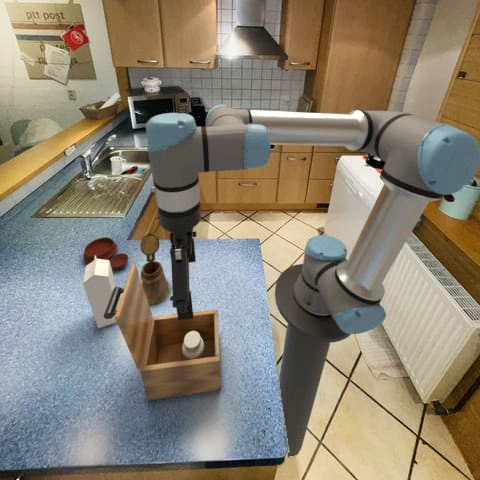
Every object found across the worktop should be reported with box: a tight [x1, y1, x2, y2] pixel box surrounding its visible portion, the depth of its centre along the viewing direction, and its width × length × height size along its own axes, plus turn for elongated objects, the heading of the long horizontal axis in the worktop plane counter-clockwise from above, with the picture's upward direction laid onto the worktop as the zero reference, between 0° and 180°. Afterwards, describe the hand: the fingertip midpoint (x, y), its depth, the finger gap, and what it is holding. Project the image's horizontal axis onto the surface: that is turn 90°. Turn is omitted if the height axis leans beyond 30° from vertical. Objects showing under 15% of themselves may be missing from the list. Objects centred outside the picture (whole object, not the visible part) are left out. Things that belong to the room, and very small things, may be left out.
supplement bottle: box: [182, 331, 205, 361], centre depth 63 cm, size 5×5×10 cm
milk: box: [82, 255, 121, 329], centre depth 72 cm, size 6×6×22 cm
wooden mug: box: [139, 232, 171, 305], centre depth 82 cm, size 9×14×18 cm, turn 17°
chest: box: [139, 309, 222, 401], centre depth 62 cm, size 17×12×12 cm
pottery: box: [82, 237, 129, 270], centre depth 95 cm, size 12×20×4 cm, turn 61°
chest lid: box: [104, 264, 153, 371], centre depth 55 cm, size 18×12×5 cm
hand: (188, 286), depth 53 cm, fingers open, 13 cm apart
